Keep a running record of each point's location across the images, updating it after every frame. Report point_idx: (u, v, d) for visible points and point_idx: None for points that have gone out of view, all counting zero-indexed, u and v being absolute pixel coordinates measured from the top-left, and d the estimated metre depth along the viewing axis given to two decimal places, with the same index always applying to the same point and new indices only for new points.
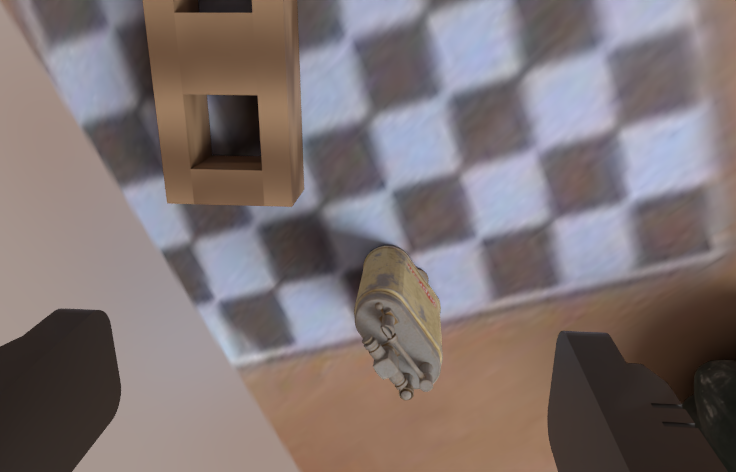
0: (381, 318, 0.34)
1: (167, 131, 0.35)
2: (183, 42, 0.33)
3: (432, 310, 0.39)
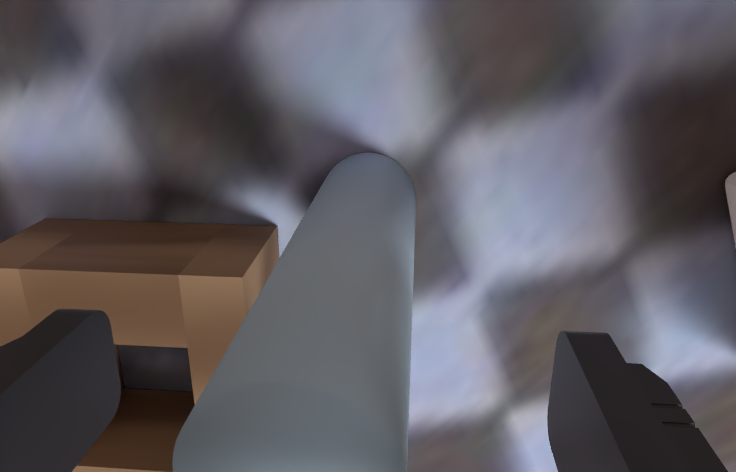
0: None
1: None
2: None
3: None
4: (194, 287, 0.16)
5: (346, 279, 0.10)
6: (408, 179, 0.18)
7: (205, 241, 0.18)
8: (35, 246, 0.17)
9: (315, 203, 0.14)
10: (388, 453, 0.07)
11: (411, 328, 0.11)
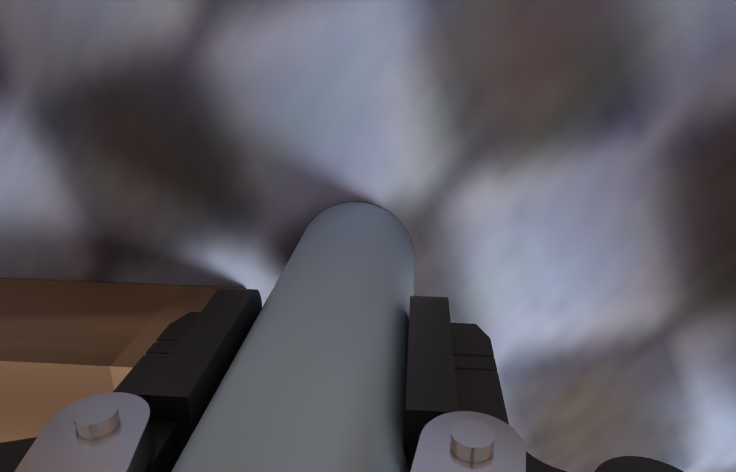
0: None
1: None
2: None
3: None
4: None
5: (306, 450, 0.06)
6: (405, 236, 0.14)
7: (154, 311, 0.14)
8: None
9: (283, 281, 0.11)
10: None
11: None
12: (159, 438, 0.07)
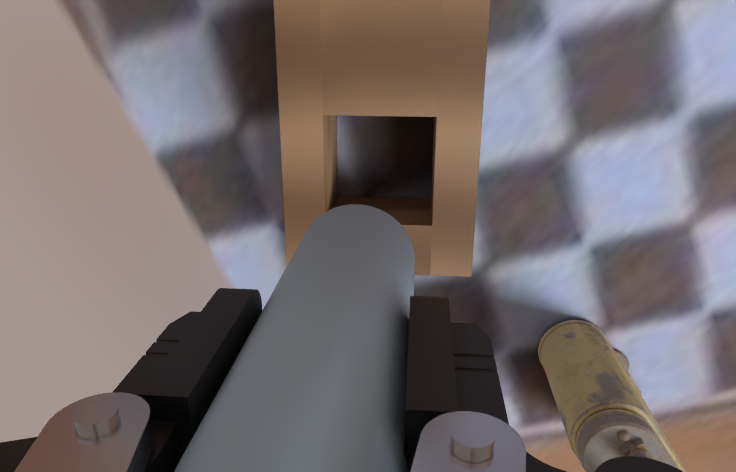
0: (628, 454, 0.22)
1: (295, 169, 0.24)
2: (330, 37, 0.22)
3: (652, 416, 0.28)
4: None
5: (306, 456, 0.06)
6: (405, 238, 0.14)
7: None
8: None
9: (283, 284, 0.11)
10: None
11: None
12: (159, 438, 0.07)
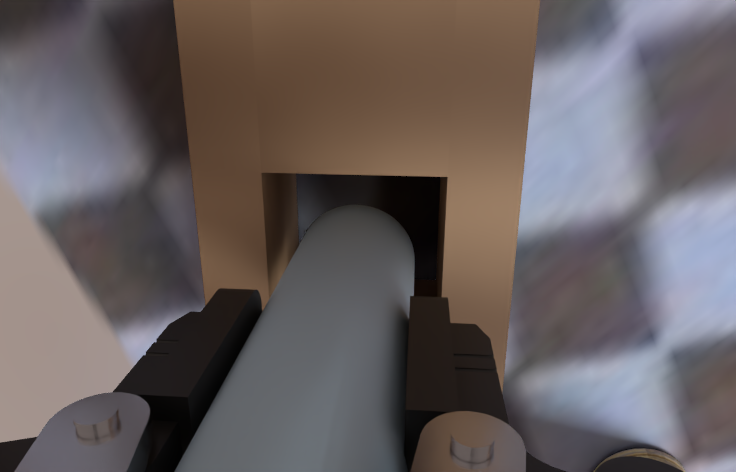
0: None
1: (221, 255, 0.15)
2: (269, 46, 0.13)
3: None
4: None
5: (306, 455, 0.06)
6: (405, 238, 0.14)
7: None
8: None
9: (283, 284, 0.11)
10: None
11: None
12: (159, 438, 0.07)
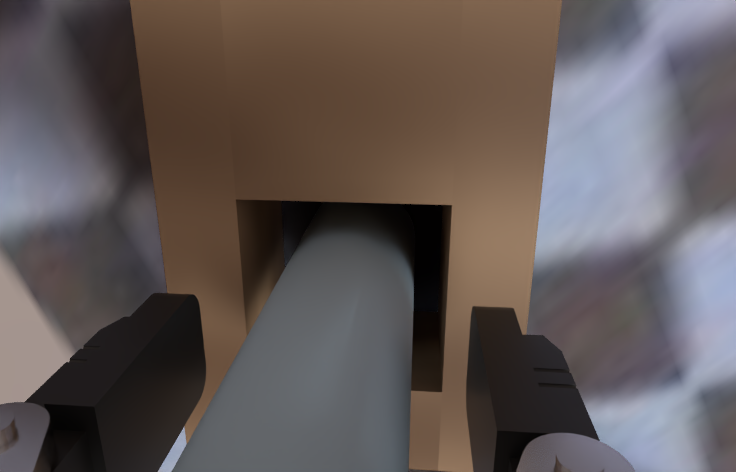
0: None
1: (191, 292, 0.13)
2: (243, 54, 0.11)
3: None
4: None
5: (327, 372, 0.08)
6: (406, 218, 0.16)
7: None
8: None
9: (298, 252, 0.12)
10: None
11: None
12: (62, 449, 0.07)
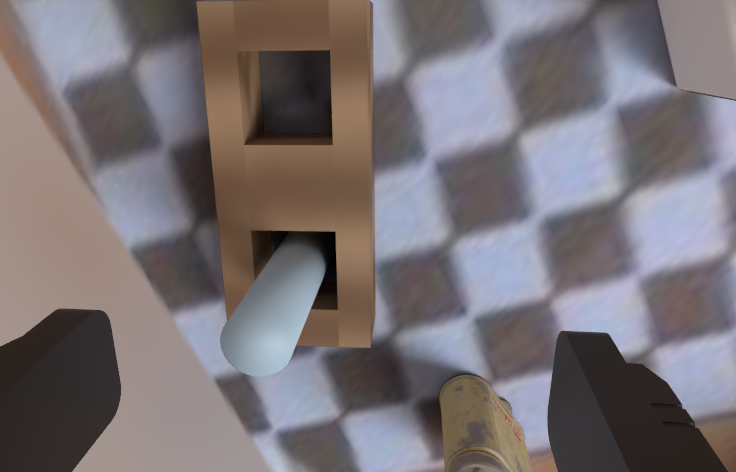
0: None
1: (232, 268, 0.32)
2: (253, 176, 0.30)
3: (523, 453, 0.35)
4: (337, 7, 0.27)
5: (280, 283, 0.26)
6: (328, 236, 0.34)
7: None
8: None
9: (276, 251, 0.31)
10: (286, 332, 0.23)
11: (310, 303, 0.27)
12: None
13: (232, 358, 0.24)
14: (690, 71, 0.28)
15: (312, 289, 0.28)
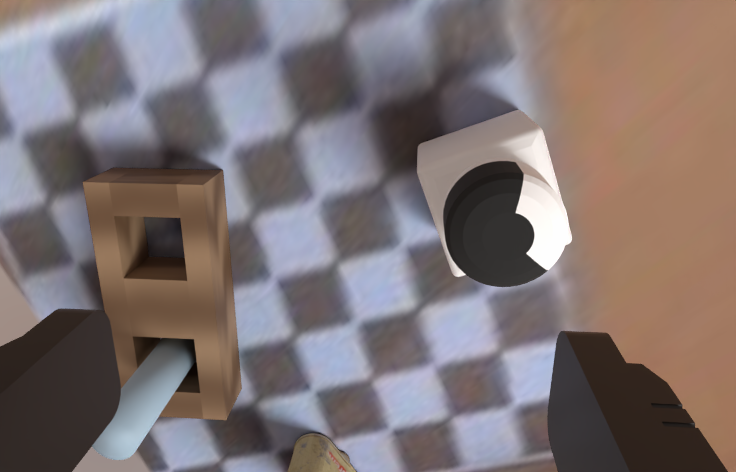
0: None
1: (120, 362, 0.42)
2: (132, 299, 0.41)
3: None
4: (183, 189, 0.37)
5: (138, 389, 0.37)
6: None
7: (188, 175, 0.40)
8: (112, 176, 0.39)
9: None
10: (132, 432, 0.34)
11: (164, 400, 0.38)
12: None
13: (97, 447, 0.35)
14: None
15: (169, 387, 0.39)
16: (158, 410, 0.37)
